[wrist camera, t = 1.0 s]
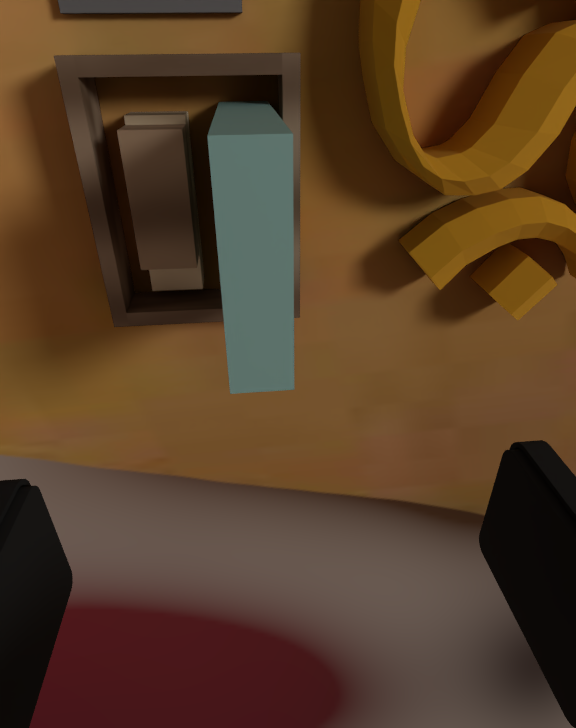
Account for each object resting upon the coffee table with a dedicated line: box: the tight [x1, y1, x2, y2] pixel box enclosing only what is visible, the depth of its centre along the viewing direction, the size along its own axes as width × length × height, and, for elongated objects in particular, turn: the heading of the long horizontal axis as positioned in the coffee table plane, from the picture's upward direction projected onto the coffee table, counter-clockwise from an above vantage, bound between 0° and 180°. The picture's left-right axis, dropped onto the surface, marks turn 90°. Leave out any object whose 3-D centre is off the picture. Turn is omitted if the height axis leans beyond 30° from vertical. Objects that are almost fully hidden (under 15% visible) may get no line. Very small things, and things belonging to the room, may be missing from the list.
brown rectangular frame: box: [54, 53, 300, 327], centre depth 32 cm, size 16×13×4 cm
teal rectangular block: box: [207, 101, 294, 394], centre depth 27 cm, size 11×3×16 cm, turn 1°
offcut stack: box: [117, 111, 205, 291], centre depth 31 cm, size 11×4×5 cm, turn 0°
